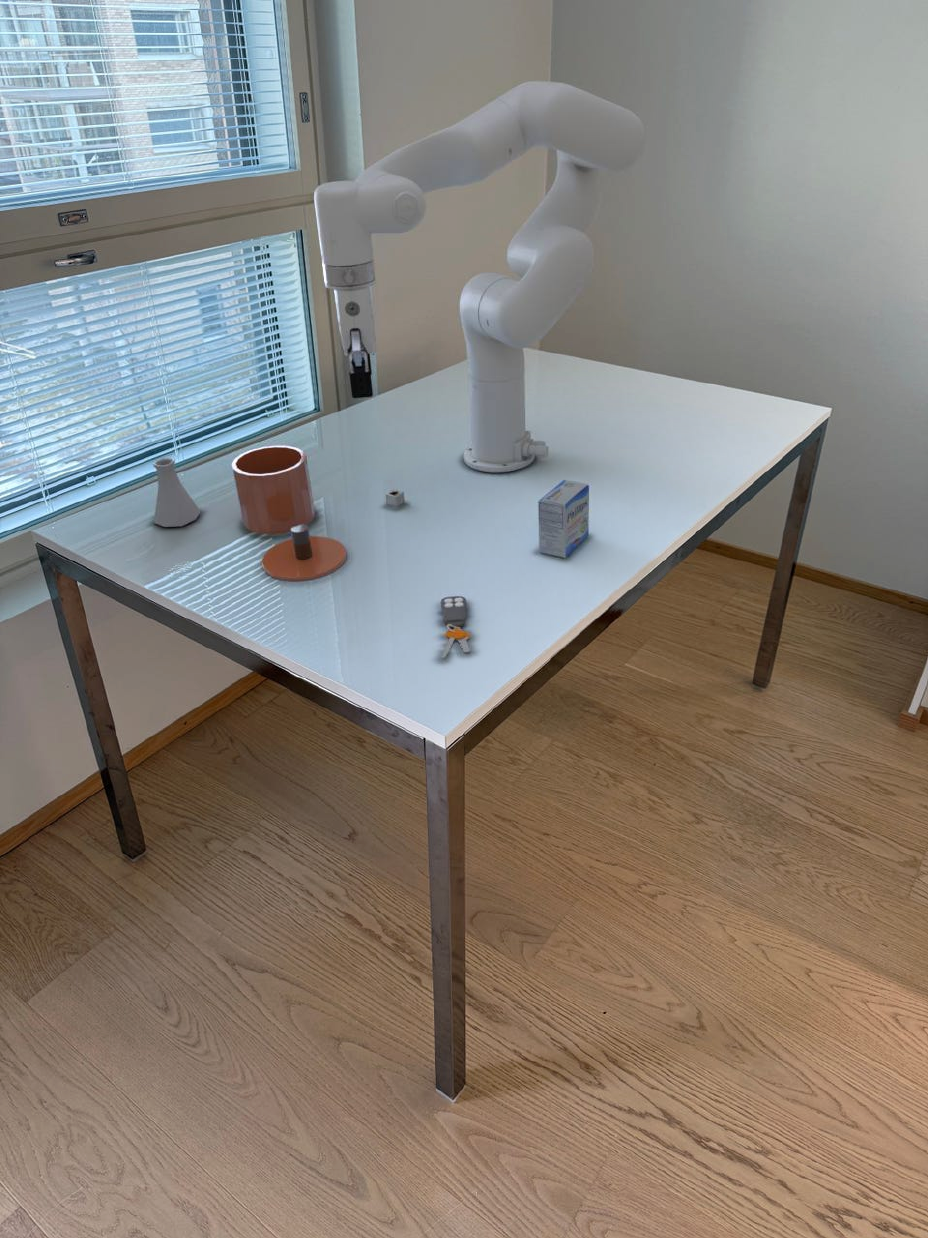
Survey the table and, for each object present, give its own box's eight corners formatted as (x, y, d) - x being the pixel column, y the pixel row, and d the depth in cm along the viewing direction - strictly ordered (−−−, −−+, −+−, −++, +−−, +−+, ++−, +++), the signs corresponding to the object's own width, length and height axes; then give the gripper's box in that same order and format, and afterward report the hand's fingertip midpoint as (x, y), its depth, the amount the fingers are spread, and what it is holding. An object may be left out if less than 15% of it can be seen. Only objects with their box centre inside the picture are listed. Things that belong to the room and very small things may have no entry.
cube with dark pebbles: (397, 509, 153) (395, 495, 152) (386, 507, 154) (385, 493, 153) (405, 504, 155) (403, 490, 153) (394, 501, 156) (393, 487, 154)
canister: (328, 509, 155) (319, 449, 149) (292, 541, 146) (281, 479, 140) (268, 500, 159) (257, 442, 153) (229, 532, 150) (216, 471, 144)
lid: (361, 549, 143) (357, 514, 140) (321, 590, 133) (315, 554, 130) (290, 538, 147) (284, 504, 144) (246, 577, 137) (239, 542, 134)
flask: (208, 510, 157) (195, 454, 151) (184, 530, 151) (170, 473, 146) (171, 506, 159) (157, 450, 153) (146, 526, 153) (130, 469, 148)
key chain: (439, 604, 128) (438, 595, 128) (466, 602, 128) (465, 593, 128) (441, 660, 118) (441, 650, 117) (471, 658, 118) (471, 648, 117)
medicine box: (565, 559, 137) (565, 505, 132) (538, 552, 139) (537, 499, 134) (589, 536, 142) (590, 483, 138) (562, 530, 144) (562, 478, 140)
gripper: (376, 286, 133) (387, 403, 142) (373, 258, 147) (384, 366, 156) (322, 290, 132) (337, 407, 141) (325, 262, 147) (339, 370, 156)
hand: (362, 386), depth 149 cm, fingers open, 9 cm apart
